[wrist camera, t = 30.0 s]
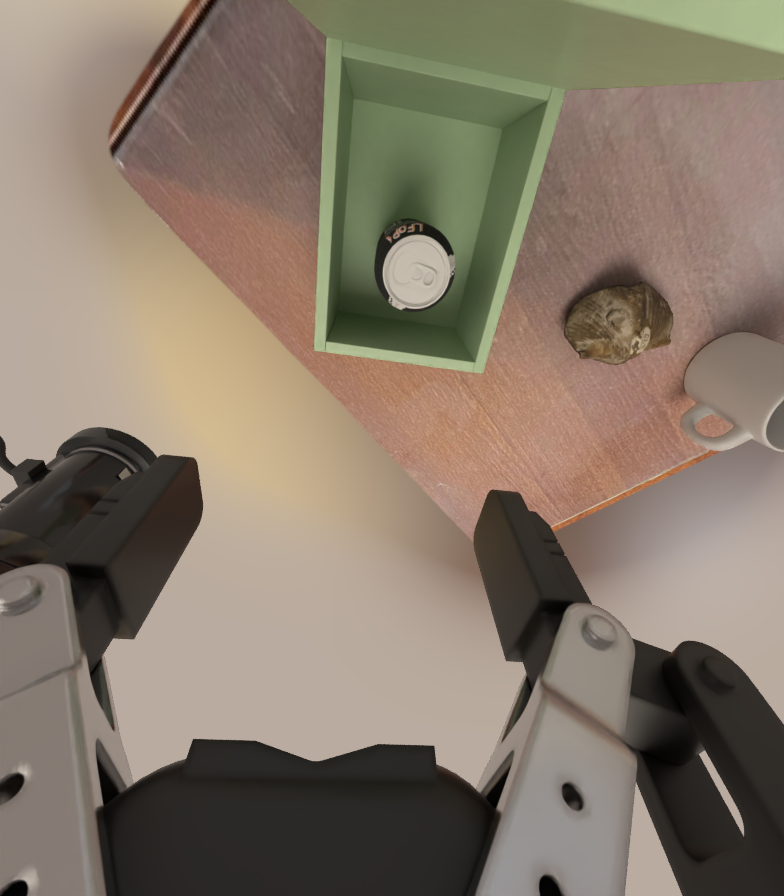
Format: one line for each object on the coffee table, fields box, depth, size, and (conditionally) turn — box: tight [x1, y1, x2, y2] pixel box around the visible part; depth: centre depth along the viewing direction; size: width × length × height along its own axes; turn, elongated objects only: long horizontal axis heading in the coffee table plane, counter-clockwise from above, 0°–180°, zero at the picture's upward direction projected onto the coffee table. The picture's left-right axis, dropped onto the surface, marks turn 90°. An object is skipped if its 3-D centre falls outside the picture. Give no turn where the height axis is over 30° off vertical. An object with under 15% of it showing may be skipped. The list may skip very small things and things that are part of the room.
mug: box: [680, 332, 784, 452], centre depth 39 cm, size 12×8×11 cm
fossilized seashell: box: [564, 282, 673, 365], centre depth 38 cm, size 8×7×10 cm
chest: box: [314, 38, 566, 374], centre depth 30 cm, size 18×14×11 cm
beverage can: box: [374, 218, 455, 312], centre depth 30 cm, size 6×6×12 cm
